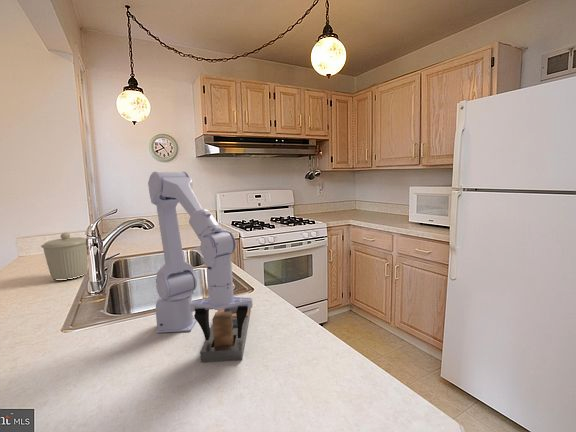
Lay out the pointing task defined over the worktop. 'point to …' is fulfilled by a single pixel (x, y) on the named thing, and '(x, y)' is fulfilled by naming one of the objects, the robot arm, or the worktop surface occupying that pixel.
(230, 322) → the peg
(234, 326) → the rail
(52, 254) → the canister
